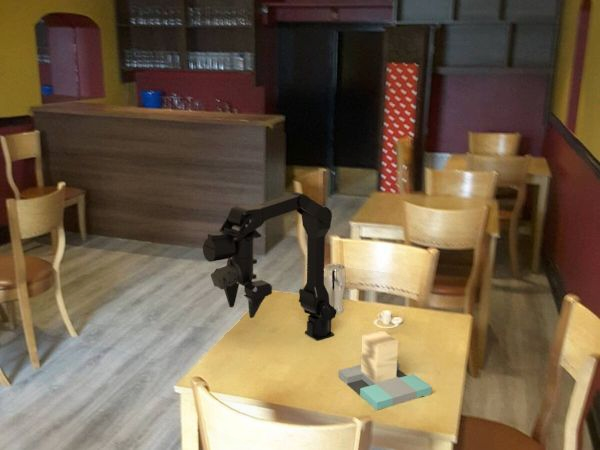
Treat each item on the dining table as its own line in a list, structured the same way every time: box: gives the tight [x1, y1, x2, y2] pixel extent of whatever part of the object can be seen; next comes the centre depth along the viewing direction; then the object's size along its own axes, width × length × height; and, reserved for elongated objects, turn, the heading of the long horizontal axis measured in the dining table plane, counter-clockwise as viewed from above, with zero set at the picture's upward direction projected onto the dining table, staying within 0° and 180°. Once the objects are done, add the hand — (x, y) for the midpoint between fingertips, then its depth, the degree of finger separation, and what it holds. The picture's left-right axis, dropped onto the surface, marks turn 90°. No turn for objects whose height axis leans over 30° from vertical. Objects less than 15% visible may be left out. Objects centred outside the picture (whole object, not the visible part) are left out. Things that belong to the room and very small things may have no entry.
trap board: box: [338, 362, 417, 406], centre depth 157 cm, size 18×16×2 cm
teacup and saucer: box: [372, 309, 404, 329], centre depth 193 cm, size 9×8×4 cm
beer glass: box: [324, 263, 347, 315], centre depth 201 cm, size 7×7×15 cm
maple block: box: [360, 330, 399, 383], centre depth 157 cm, size 7×6×10 cm
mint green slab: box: [359, 373, 433, 411], centre depth 152 cm, size 7×16×2 cm, turn 117°
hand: (241, 312), depth 164 cm, fingers open, 9 cm apart
